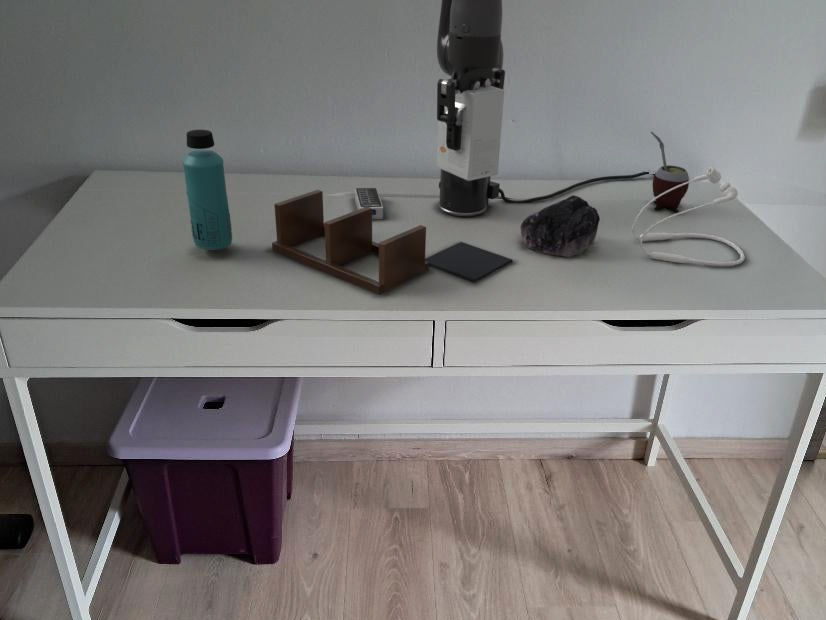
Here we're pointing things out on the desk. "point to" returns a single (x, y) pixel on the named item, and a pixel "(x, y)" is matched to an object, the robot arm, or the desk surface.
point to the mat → (467, 261)
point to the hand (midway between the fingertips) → (468, 144)
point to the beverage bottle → (206, 193)
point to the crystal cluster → (561, 227)
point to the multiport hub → (369, 201)
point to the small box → (474, 135)
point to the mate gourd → (669, 184)
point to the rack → (348, 243)
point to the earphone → (729, 195)
